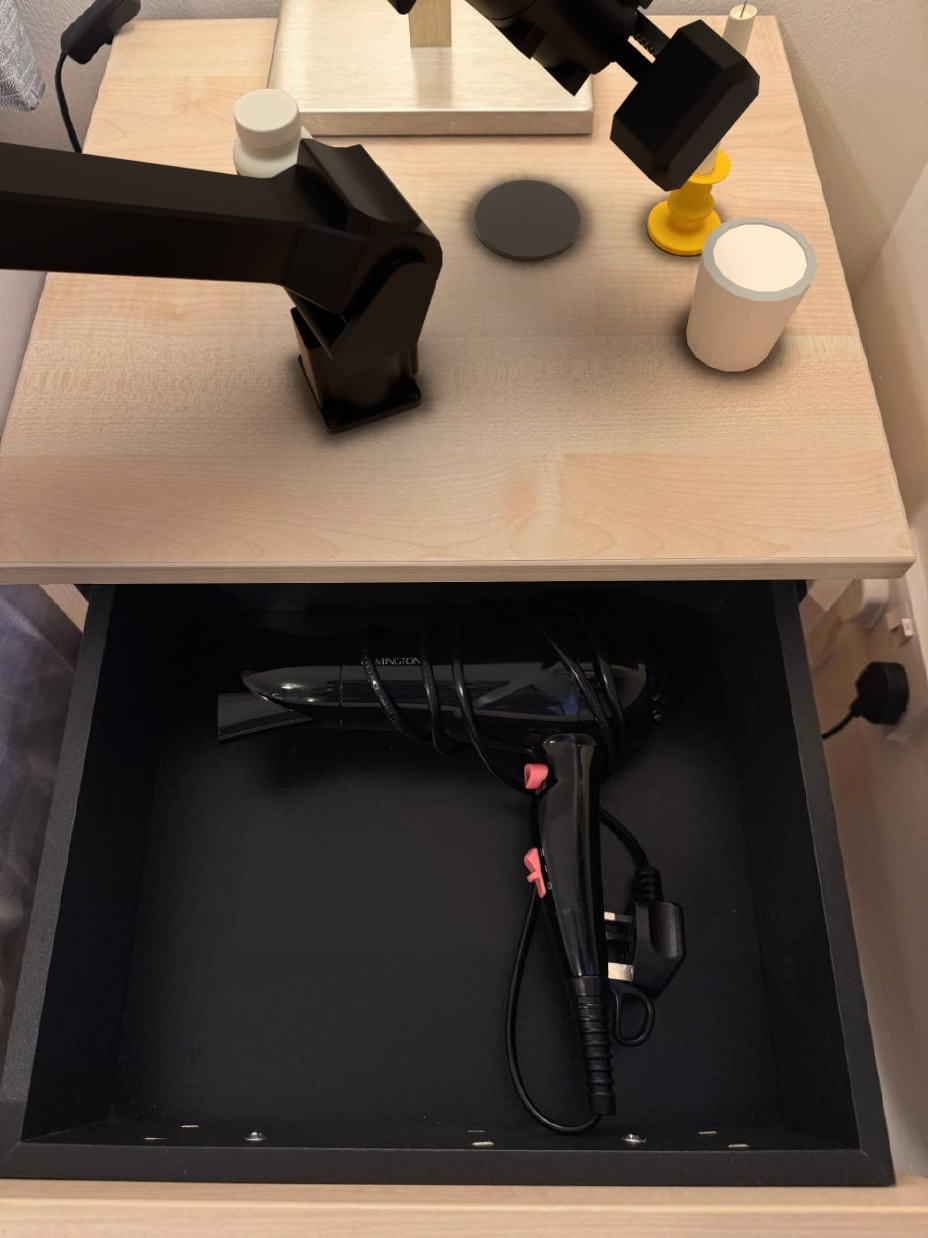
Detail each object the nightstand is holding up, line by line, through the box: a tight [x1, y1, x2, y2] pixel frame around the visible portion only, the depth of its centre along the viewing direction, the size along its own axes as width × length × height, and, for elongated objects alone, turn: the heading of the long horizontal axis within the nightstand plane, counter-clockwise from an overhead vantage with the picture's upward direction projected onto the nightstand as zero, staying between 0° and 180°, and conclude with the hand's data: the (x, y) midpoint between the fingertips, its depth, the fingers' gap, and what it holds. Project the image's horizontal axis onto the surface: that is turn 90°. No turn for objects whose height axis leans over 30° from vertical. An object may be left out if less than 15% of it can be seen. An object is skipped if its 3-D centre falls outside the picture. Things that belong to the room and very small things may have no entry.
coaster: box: [473, 179, 581, 262], centre depth 63 cm, size 8×8×1 cm
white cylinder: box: [685, 216, 819, 372], centre depth 56 cm, size 7×7×7 cm
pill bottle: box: [232, 88, 314, 178], centre depth 58 cm, size 5×5×10 cm
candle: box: [646, 0, 758, 256], centre depth 56 cm, size 5×5×16 cm
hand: (665, 96), depth 51 cm, fingers open, 9 cm apart
